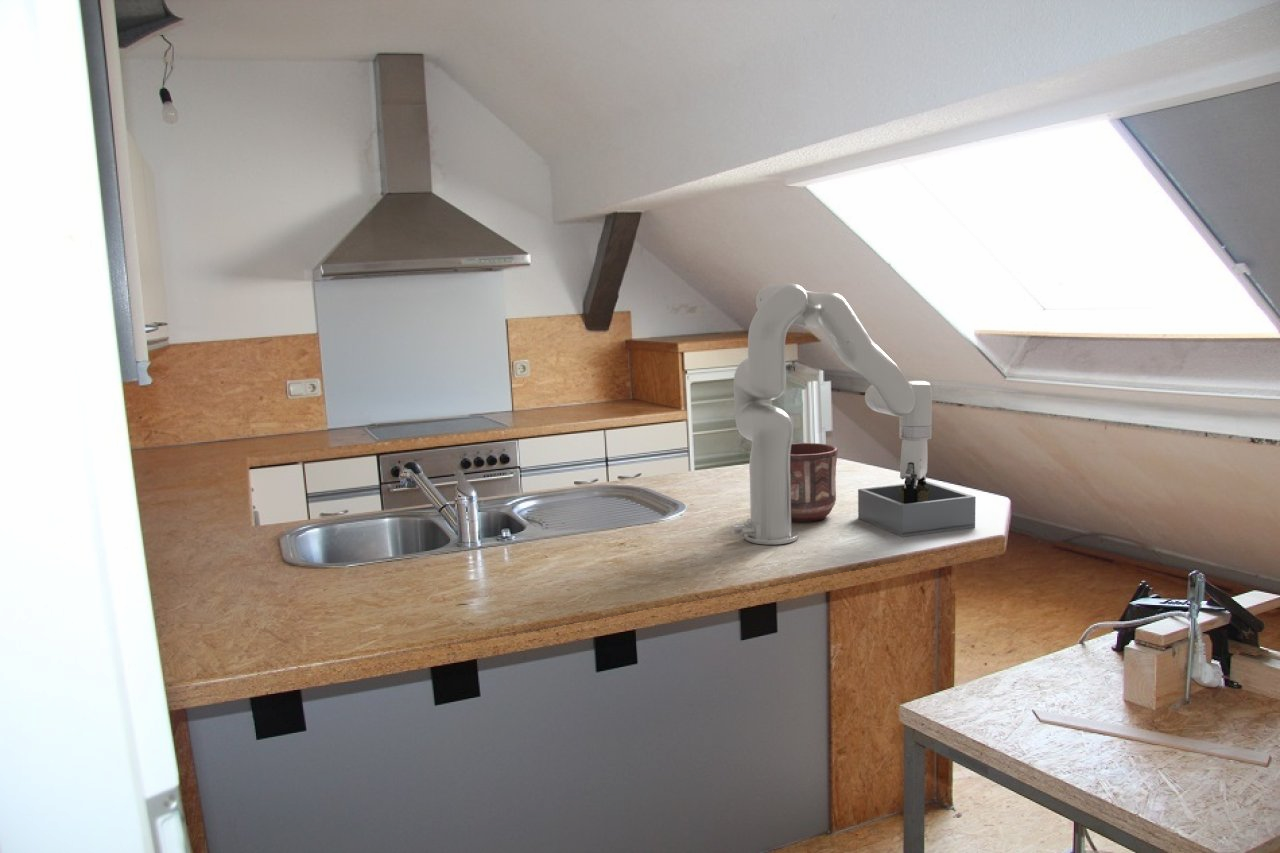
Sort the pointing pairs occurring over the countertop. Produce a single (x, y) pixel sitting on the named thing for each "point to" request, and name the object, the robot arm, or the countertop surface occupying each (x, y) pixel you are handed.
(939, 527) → the crate
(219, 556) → the countertop surface
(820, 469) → the pottery
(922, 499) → the brown patterned lamp shade
